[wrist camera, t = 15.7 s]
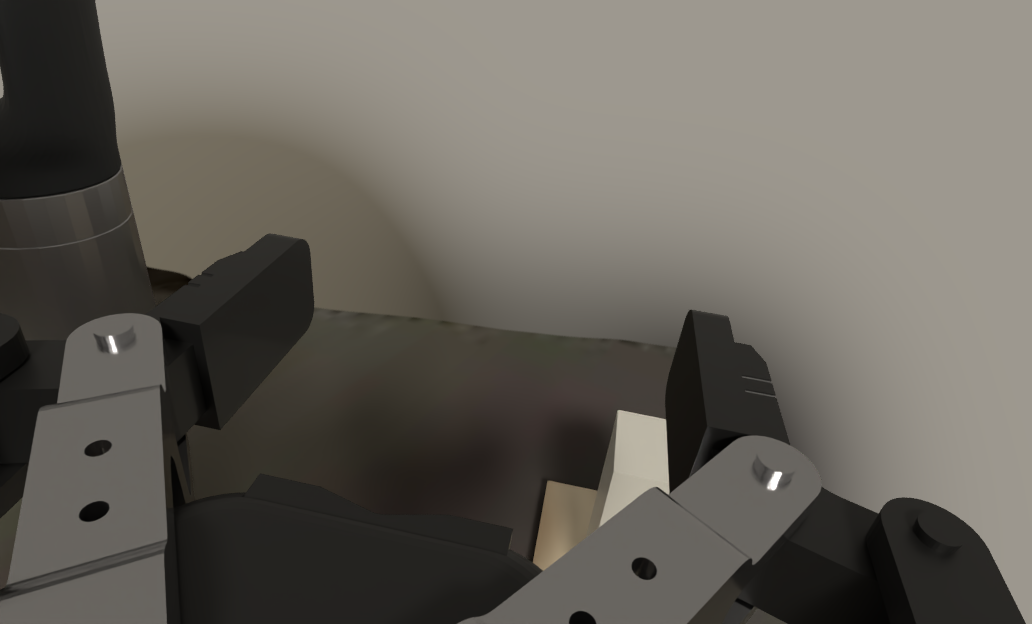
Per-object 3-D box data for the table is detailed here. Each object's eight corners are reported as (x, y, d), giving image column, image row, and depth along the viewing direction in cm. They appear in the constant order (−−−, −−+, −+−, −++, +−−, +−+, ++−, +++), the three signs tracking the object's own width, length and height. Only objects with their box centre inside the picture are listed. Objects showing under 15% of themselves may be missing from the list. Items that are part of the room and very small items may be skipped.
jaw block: (575, 614, 34) (613, 471, 28) (583, 547, 37) (617, 409, 32) (656, 633, 33) (711, 492, 28) (655, 564, 37) (704, 427, 31)
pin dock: (506, 708, 31) (514, 664, 29) (544, 495, 43) (552, 453, 40) (709, 758, 30) (733, 717, 28) (690, 526, 42) (706, 485, 39)
